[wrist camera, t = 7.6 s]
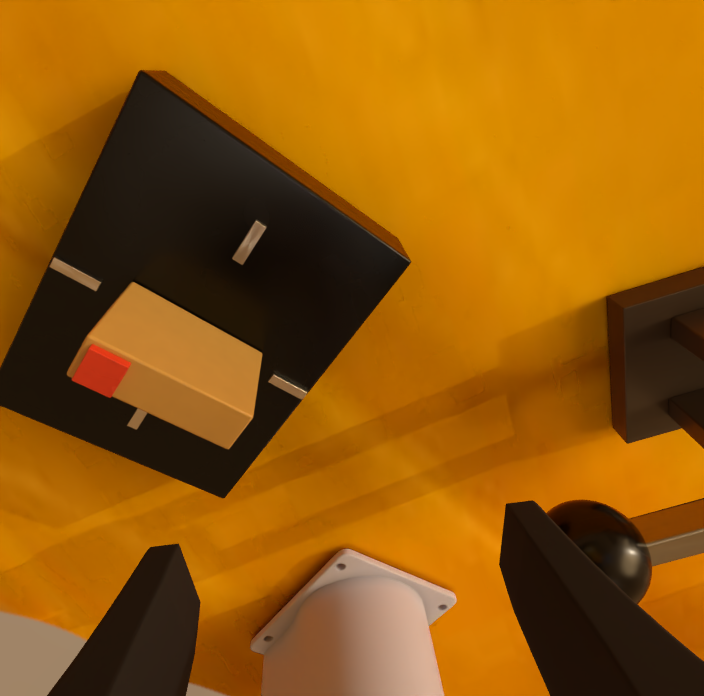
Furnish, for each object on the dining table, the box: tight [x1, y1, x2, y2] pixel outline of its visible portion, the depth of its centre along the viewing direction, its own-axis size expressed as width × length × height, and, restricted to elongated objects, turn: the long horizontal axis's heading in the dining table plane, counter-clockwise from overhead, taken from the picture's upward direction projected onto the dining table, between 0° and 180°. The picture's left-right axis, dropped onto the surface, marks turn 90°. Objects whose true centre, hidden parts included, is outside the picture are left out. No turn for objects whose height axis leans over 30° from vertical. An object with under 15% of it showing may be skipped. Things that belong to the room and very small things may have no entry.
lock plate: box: [0, 70, 411, 498], centre depth 17 cm, size 12×9×3 cm
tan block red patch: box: [67, 282, 262, 449], centre depth 14 cm, size 5×1×4 cm, turn 54°
